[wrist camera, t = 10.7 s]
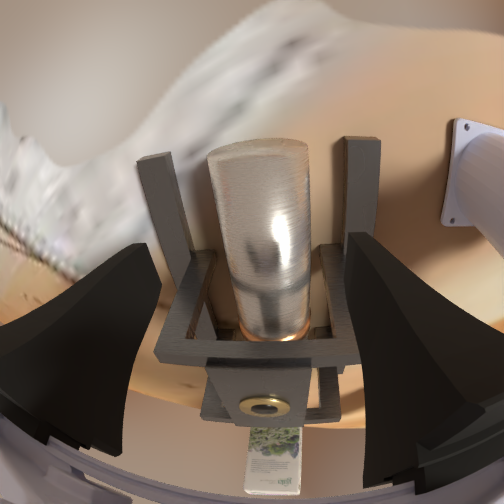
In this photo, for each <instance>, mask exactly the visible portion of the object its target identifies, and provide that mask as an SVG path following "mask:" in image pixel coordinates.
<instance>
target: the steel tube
mask: <svg viewBox="0 0 504 504" xmlns="http://www.w3.org/2000/svg"><path fill="white" fill-rule="evenodd" d="M207 161H208V167H209V172H210V177H211V183H212V188H213V193H214V199H215V204H216V209H217V214H218V219H219V224H220V229H221V234H222V239H223V244H224V249H225V254H226V259H227V263H228V268H229V273H230V278H231V282H232V287H233V291H234V296H235V301H236V305H237V310H238V320H239V325H240V329H241V333H242V335H243V337H244V340H245V341H293V340H308V331H309V328H310V317H311V310H310V272H311V210H310V175H309V154H308V145H307V144H306V143H305V142H302V141H298V140H293V139H280V138H271V139H256V140H248V141H242V142H237V143H233V144H229V145H225V146H222V147H219V148H217V149H215V150H213V151H211V152H210V153H208V155H207Z"/></svg>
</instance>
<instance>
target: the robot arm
mask: <svg viewBox="0 0 504 504" xmlns="http://www.w3.org/2000/svg"><path fill="white" fill-rule="evenodd" d="M465 124H466V129H464V125H465ZM452 218H453V219H452ZM451 219H452V220H451ZM450 220H451V221H450ZM441 223H442V224H443V225H444V226H475V227H476V228H477V229H478V230H479V231H480V232H481V233H482V234H483V235H484V237H485V238H486V239H487V240H488V241H489V242H490V243H491V244H492V246H493V247H494V248H495V249H496V250H497V251H498V253H499V254H500V255H501V256H502V257H503V259H504V130H503V129H499V128H496V127H493V126H489V125H486V124H482V123H479V122H475V121H471V120H467V119H462V118H456V119H455V120H454V124H453V140H452V151H451V160H450V168H449V176H448V182H447V189H446V194H445V200H444V205H443V210H442V215H441ZM343 280H344V287H345V294H346V301H347V306H348V310H349V314H350V318H351V322H352V326H353V330H354V333H355V337H356V342H357V346H358V350H359V354H360V359H361V364H362V371H363V381H364V393H365V414H366V442H365V443H366V444H365V460H364V471H363V488H369V487H375V486H379V485H384V484H388V483H393V486H392V487H387V488H383V489H378V490H374V491H368V492H363V493H357V494H350V495H342V496H334V497H324V498H309V499H261V498H247V497H236V496H228V495H220V494H213V493H207V492H202V491H196V490H191V489H186V488H182V487H178V486H173V485H169V484H165V483H162V482H158V481H155V480H151V479H148V478H145V477H142V476H139V475H135V474H133V473H130V472H127V471H124V470H122V469H119V468H116V467H114V466H111V465H109V464H106V463H104V462H102V461H99V460H97V459H95V458H93V457H90V456H88V455H86V454H84V453H82V452H80V451H79V448H80V446H81V447H83V448H85V449H87V450H89V449H90V447H92V448H95V449H97V450H99V451H101V452H104V453H106V454H109V455H111V456H114V457H117V456H119V455H120V454H122V429H123V418H124V409H125V401H126V395H127V390H128V385H129V380H130V376H131V372H132V368H133V364H134V361H135V358H136V355H137V352H138V350H139V347H140V345H141V342H142V340H143V337H144V335H145V332H146V330H147V328H148V325H149V323H150V320H151V318H152V316H153V313H154V311H155V308H156V305H157V302H158V298H159V295H160V291H161V287H162V283H161V281H160V278H159V276H158V273H157V271H156V268H155V265H154V263H153V260H152V258H151V255H150V252H149V250H148V247H147V244H146V243H135V244H131V245H129V246H128V247H126V248H124V249H123V250H121V251H120V252H118V253H117V254H115V255H114V256H112V257H111V258H109V259H108V260H107V261H105V262H104V263H103V264H101V265H100V266H98V267H97V268H96V269H94V270H93V271H92V272H90V273H89V274H88V275H86V276H85V277H84V278H82V279H81V280H79V281H78V282H77V283H75V284H74V285H73V286H71V287H70V288H68V289H67V290H66V291H64V292H63V293H61V294H60V295H58V296H57V297H55V298H53V299H52V300H50V301H49V302H47V303H46V304H44V305H42V306H40V307H39V308H37V309H35V310H33V311H31V312H30V313H28V314H26V315H24V316H22V317H20V318H18V319H16V320H14V321H12V322H10V323H7V324H5V325H3V326H0V493H1V495H2V497H3V499H2V498H0V504H132V501H133V500H132V499H131V497H129V496H127V495H125V494H123V493H121V492H118V491H116V490H114V489H111V488H109V487H106V486H103V485H100V484H98V483H95V482H92V481H90V480H87V479H86V478H85V476H84V473H86V474H87V475H89V476H92V477H94V478H96V479H98V480H100V481H102V482H104V483H107V484H109V485H112V486H113V487H116V488H118V489H121V490H123V491H126V492H128V493H131V494H134V495H137V496H139V497H142V498H146V499H148V500H151V501H155V502H158V503H161V504H504V333H502V332H500V331H498V330H496V329H494V328H492V327H490V326H489V325H487V324H485V323H484V322H482V321H480V320H478V319H477V318H475V317H474V316H472V315H470V314H469V313H467V312H466V311H464V310H462V309H461V308H459V307H458V306H456V305H455V304H453V303H452V302H451V301H449V300H448V299H446V298H445V297H444V296H442V295H441V294H440V293H438V292H437V291H435V290H434V289H433V288H431V287H430V286H429V285H428V284H426V283H425V282H424V281H423V280H421V279H420V278H419V277H418V276H416V275H415V274H414V273H413V272H412V271H410V270H409V269H408V268H407V267H406V266H405V265H403V264H402V263H401V262H400V261H399V260H398V259H397V258H395V257H394V256H393V255H392V254H391V253H390V252H389V251H388V250H386V249H385V248H384V247H383V246H382V245H381V244H380V243H378V242H377V241H376V240H375V239H374V238H373V237H372V236H370V235H369V234H368V233H367V232H348V241H347V252H346V262H345V271H344V279H343ZM83 472H84V473H83Z"/></svg>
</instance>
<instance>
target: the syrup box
mask: <svg viewBox="0 0 504 504" xmlns="http://www.w3.org/2000/svg"><path fill="white" fill-rule="evenodd" d="M301 455H302V427H287V428H271V427H251V428H250V437H249V445H248V453H247V461H246V468H245V476H244V484H243V489H244V490H245V491H246V492H247V493H249V494H253V495H299V494H300V483H301Z"/></svg>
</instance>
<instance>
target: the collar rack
mask: <svg viewBox="0 0 504 504" xmlns="http://www.w3.org/2000/svg"><path fill="white" fill-rule="evenodd" d="M380 157H381V140H379V139H378V138H376V137H359V136H344V196H343V219H342V235H341V244H323V245H320V261H321V266H322V272H323V277H324V283H325V289H326V295H327V301H328V308H329V314H330V321H331V327H317V328H315V340H293V341H235V337H236V335H235V331H234V329H218V326H217V323H216V320H215V317H214V313H213V310H212V307H211V304H210V301H209V297H208V294H207V291H208V288H209V285H210V281H211V278H212V275H213V272H214V268H215V265H216V262H217V259H216V255H215V250H195V249H194V246H193V242H192V238H191V234H190V231H189V227H188V223H187V219H186V215H185V211H184V207H183V203H182V199H181V195H180V191H179V187H178V183H177V178H176V174H175V170H174V165H173V161H172V156H171V152H165V153H160V154H155V155H150V156H145V157H142V158H141V159H139V160H138V161H136V162H137V166H138V170H139V173H140V177H141V181H142V184H143V188H144V192H145V195H146V198H147V202H148V205H149V209H150V212H151V215H152V218H153V221H154V225H155V228H156V231H157V234H158V237H159V240H160V243H161V246H162V249H163V252H164V255H165V258H166V260H167V263H168V266H169V269H170V272H171V274H172V277H173V280H174V282H175V285H176V288H177V290H178V291H177V293H176V296H175V298H174V300H173V303H172V305H171V308H170V310H169V313H168V315H167V318H166V320H165V323H164V325H163V328H162V330H161V333H160V336H159V338H158V341H157V343H156V346H155V349H154V351H153V352H154V354H155V355H156V357H157V358H158V360H159V361H160V363H168V364H177V365H188V366H199V367H205V370H206V372H207V374H208V380H207V384H206V389H205V394H204V399H203V403H202V408H201V413H200V417H201V418H202V419H203V420H206V421H215V422H225V423H234V424H235V425H236V426H244V427H271V428H287V427H304V424H318V423H331V422H339V421H340V419H341V407H340V395H339V384H338V375H337V374H343V371H344V368H345V365H355V364H361V359H360V354H359V350H358V346H357V342H356V337H355V333H354V330H353V326H352V322H351V318H350V314H349V310H348V306H347V301H346V294H345V287H344V280H343V279H344V271H345V262H346V252H347V241H348V232H367V233H368V234H369V235H370V236H372V237H373V235H374V227H375V219H376V210H377V201H378V189H379V176H380ZM194 335H196V337H197V339H198V340H194V339H193V338H194ZM312 368H317V371H318V389H319V408H307V402H308V394H309V387H310V379H311V371H312ZM224 406H225V407H224Z"/></svg>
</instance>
